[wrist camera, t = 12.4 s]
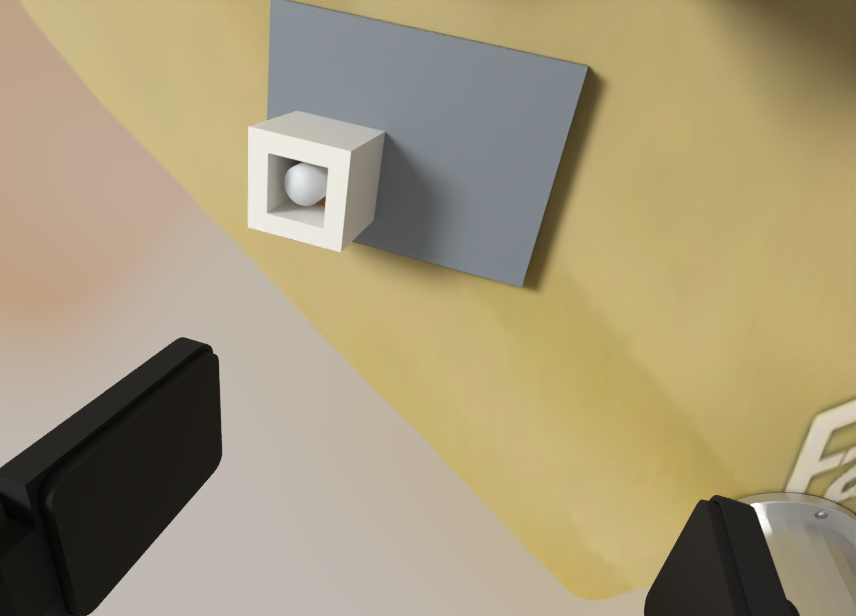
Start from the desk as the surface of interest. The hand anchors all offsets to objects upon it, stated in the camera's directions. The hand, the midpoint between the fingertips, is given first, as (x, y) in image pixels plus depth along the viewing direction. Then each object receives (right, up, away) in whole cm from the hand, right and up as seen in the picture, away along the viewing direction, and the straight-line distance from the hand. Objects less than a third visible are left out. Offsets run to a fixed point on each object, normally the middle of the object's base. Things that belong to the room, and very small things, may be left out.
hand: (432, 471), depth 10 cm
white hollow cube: (-6, +12, +26) cm, 29 cm away
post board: (-1, +14, +26) cm, 29 cm away
